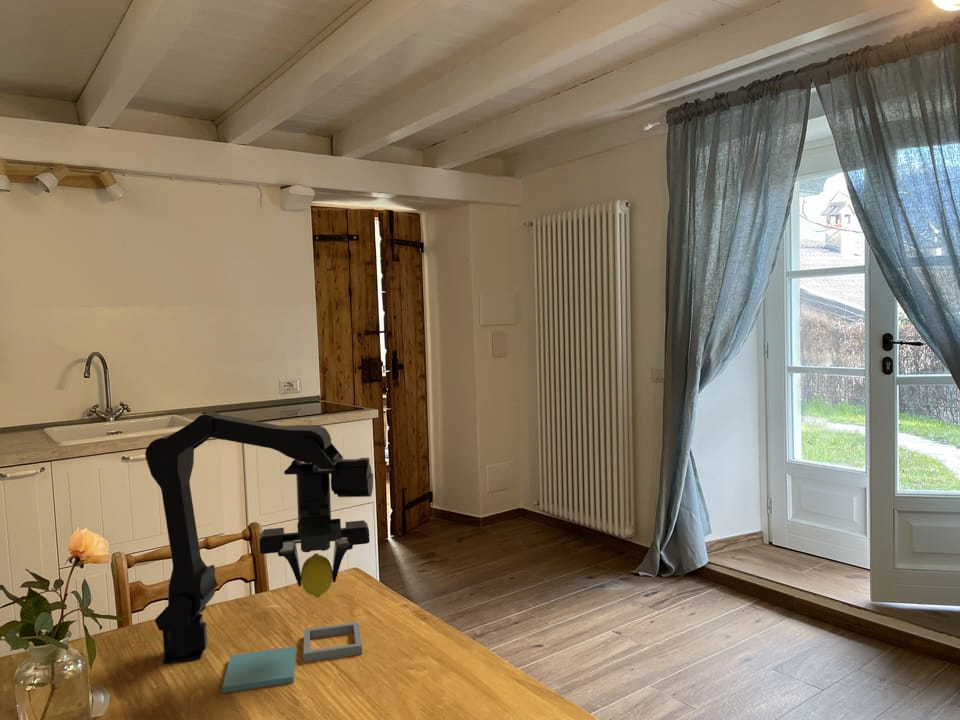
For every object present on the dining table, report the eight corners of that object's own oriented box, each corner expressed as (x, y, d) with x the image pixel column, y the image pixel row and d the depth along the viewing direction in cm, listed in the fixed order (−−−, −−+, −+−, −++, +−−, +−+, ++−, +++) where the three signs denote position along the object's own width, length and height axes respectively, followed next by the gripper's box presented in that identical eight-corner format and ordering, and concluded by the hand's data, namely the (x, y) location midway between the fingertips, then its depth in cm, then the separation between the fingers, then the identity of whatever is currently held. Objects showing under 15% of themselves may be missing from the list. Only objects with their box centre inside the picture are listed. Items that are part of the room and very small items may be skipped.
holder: (303, 662, 120) (303, 653, 120) (304, 637, 129) (304, 629, 129) (362, 653, 122) (361, 645, 122) (358, 629, 132) (358, 621, 132)
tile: (222, 693, 110) (222, 687, 110) (230, 660, 121) (230, 655, 121) (293, 682, 113) (293, 676, 113) (295, 651, 124) (295, 646, 124)
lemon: (306, 606, 120) (304, 561, 119) (298, 595, 125) (296, 551, 124) (337, 599, 123) (335, 555, 122) (328, 589, 127) (327, 546, 127)
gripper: (255, 514, 113) (259, 608, 114) (370, 504, 117) (373, 594, 118) (260, 497, 123) (263, 583, 124) (365, 489, 128) (368, 571, 129)
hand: (317, 583), depth 124 cm, fingers closed on lemon, 5 cm apart
